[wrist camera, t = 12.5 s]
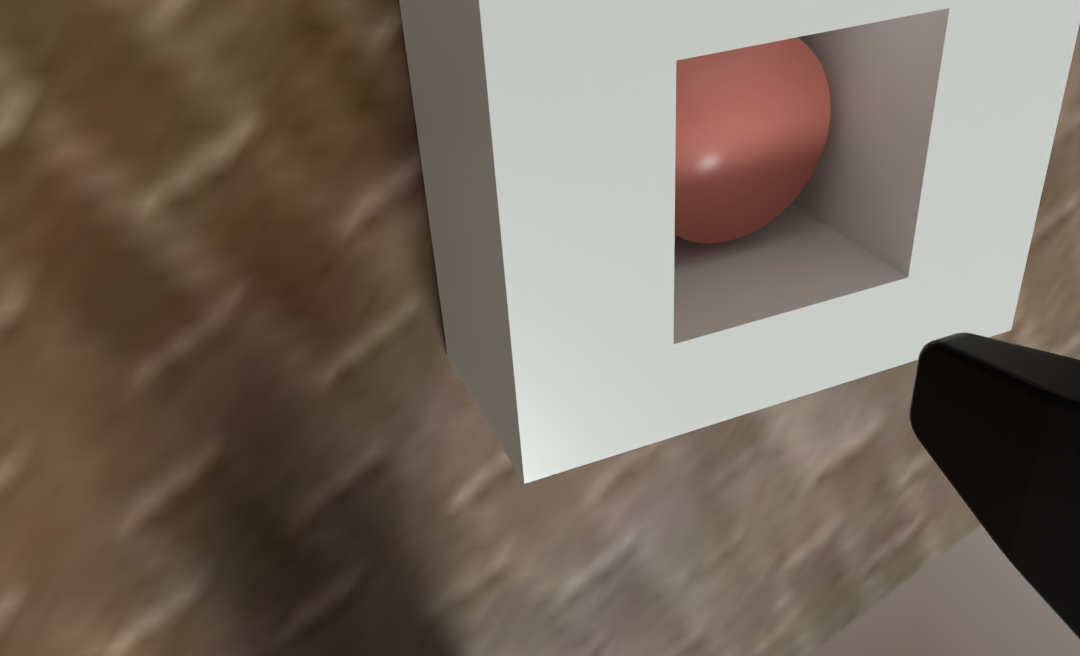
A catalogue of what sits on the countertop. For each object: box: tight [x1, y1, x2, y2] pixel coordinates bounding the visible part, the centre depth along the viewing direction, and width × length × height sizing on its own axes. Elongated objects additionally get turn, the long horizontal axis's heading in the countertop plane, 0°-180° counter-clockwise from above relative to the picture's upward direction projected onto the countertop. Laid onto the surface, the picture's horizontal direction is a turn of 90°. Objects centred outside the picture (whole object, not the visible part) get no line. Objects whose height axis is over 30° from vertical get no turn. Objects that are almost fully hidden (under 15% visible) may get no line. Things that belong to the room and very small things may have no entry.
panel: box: [399, 0, 1080, 484], centre depth 20 cm, size 12×10×5 cm
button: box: [675, 37, 831, 243], centre depth 21 cm, size 5×5×2 cm
